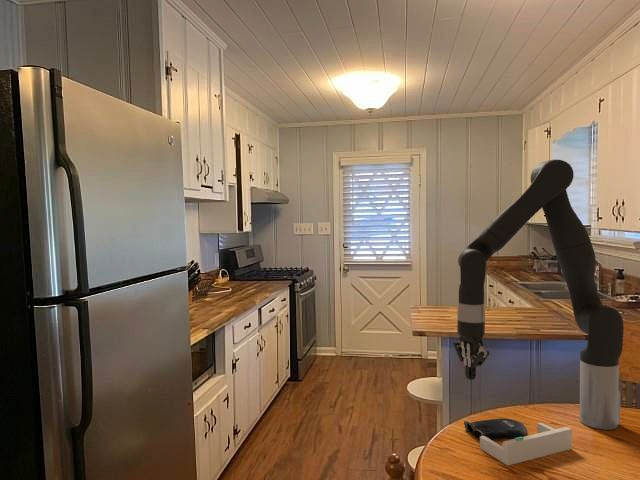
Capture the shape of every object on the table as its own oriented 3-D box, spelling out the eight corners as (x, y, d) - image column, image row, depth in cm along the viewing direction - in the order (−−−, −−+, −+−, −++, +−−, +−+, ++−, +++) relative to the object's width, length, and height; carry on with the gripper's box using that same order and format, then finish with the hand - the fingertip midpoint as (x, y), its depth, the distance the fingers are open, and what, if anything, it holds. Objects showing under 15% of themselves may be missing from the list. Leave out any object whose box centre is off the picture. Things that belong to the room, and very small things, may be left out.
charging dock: (541, 433, 126) (541, 413, 126) (571, 448, 118) (571, 427, 117) (479, 448, 118) (479, 426, 118) (507, 465, 110) (507, 442, 110)
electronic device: (484, 451, 120) (535, 436, 124) (480, 429, 121) (530, 415, 124) (465, 440, 129) (513, 426, 133) (461, 420, 130) (509, 406, 133)
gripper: (498, 322, 131) (497, 384, 131) (466, 313, 143) (465, 370, 144) (476, 324, 128) (475, 388, 129) (445, 315, 140) (445, 373, 141)
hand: (470, 378), depth 136 cm, fingers closed
